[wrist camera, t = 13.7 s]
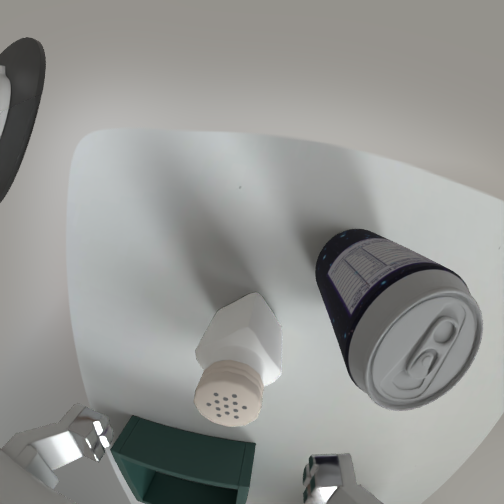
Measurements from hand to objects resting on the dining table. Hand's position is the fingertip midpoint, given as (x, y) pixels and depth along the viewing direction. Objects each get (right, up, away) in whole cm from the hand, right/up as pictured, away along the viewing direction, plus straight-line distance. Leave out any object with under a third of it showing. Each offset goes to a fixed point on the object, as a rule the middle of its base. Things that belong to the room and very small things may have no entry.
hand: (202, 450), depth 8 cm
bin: (-5, -18, +17) cm, 26 cm away
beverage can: (+9, +7, +11) cm, 15 cm away
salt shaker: (+2, +2, +12) cm, 13 cm away
